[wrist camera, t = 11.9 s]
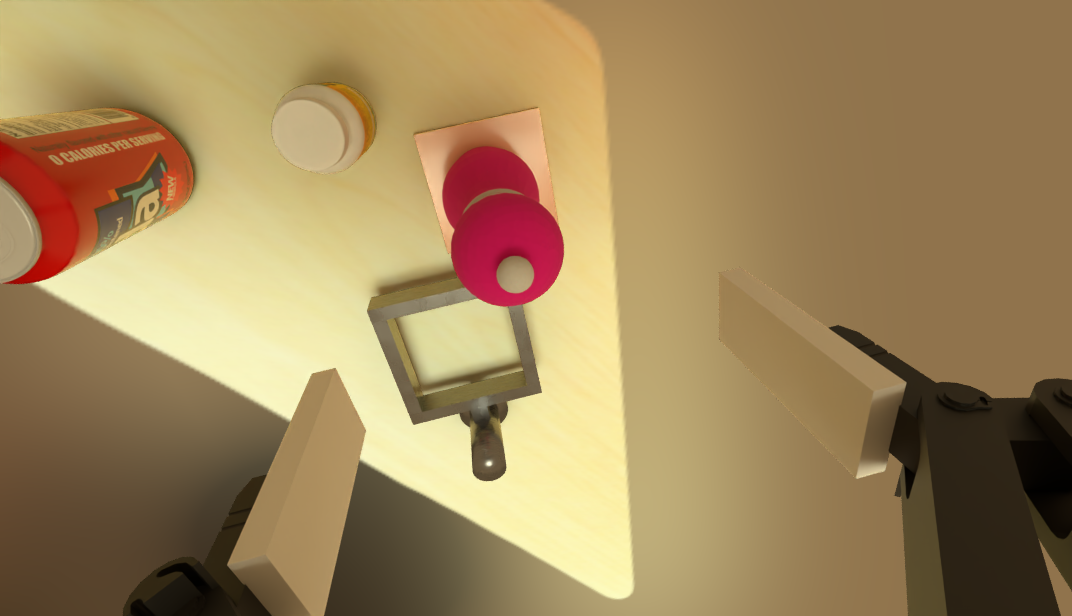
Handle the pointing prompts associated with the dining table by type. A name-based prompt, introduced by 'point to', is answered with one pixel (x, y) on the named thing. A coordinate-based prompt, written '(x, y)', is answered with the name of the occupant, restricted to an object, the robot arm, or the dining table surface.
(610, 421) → the dining table surface
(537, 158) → the terracotta tile
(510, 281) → the pepper mill
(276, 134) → the supplement bottle
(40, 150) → the soda can
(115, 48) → the dining table surface
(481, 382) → the square frame with post
